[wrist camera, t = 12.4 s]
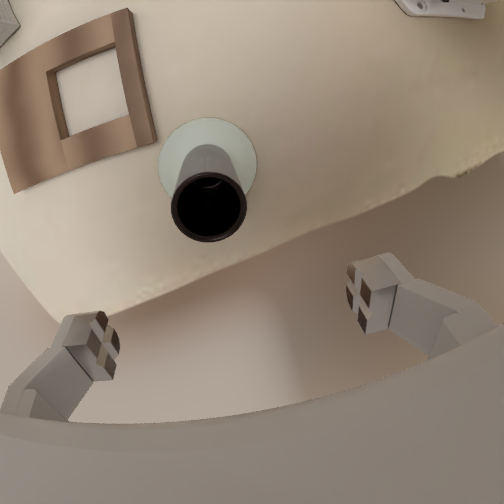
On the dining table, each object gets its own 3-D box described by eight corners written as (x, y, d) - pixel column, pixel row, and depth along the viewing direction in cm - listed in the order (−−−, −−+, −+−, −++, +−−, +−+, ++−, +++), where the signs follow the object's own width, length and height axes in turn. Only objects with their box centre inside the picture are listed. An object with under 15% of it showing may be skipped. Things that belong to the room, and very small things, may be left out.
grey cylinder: (194, 199, 28) (191, 254, 19) (173, 156, 25) (157, 192, 16) (239, 179, 27) (258, 226, 18) (220, 135, 25) (230, 159, 16)
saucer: (247, 109, 25) (248, 109, 24) (261, 199, 29) (263, 201, 29) (149, 130, 24) (147, 131, 24) (172, 218, 29) (171, 221, 28)
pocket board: (132, 13, 18) (127, 7, 17) (157, 139, 25) (153, 142, 23) (-3, 79, 17) (-14, 79, 16) (23, 187, 24) (14, 194, 22)
